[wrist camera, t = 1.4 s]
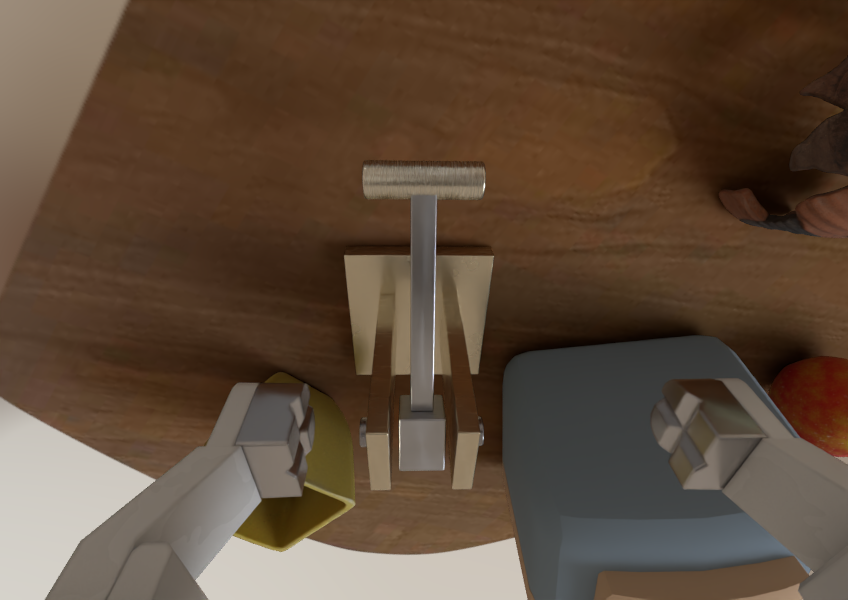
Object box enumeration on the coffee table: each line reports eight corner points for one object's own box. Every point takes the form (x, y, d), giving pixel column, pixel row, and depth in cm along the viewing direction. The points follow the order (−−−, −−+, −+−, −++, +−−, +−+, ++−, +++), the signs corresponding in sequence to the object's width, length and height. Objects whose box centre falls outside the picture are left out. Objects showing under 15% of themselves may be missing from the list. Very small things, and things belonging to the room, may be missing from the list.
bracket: (346, 245, 26) (309, 390, 16) (491, 246, 26) (538, 388, 17) (357, 363, 32) (335, 520, 22) (476, 363, 32) (505, 517, 23)
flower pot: (369, 397, 34) (358, 507, 27) (306, 447, 38) (281, 555, 30) (274, 341, 30) (232, 451, 23) (214, 402, 34) (161, 513, 27)
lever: (366, 161, 19) (360, 158, 16) (479, 162, 19) (489, 159, 17) (373, 442, 22) (369, 471, 20) (467, 441, 23) (473, 470, 20)
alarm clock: (498, 470, 41) (540, 692, 28) (497, 342, 31) (560, 589, 18) (672, 455, 40) (798, 674, 27) (725, 320, 30) (959, 558, 17)
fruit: (823, 322, 31) (934, 409, 24) (857, 365, 34) (965, 454, 27) (731, 375, 34) (808, 465, 27) (769, 411, 37) (848, 500, 30)
